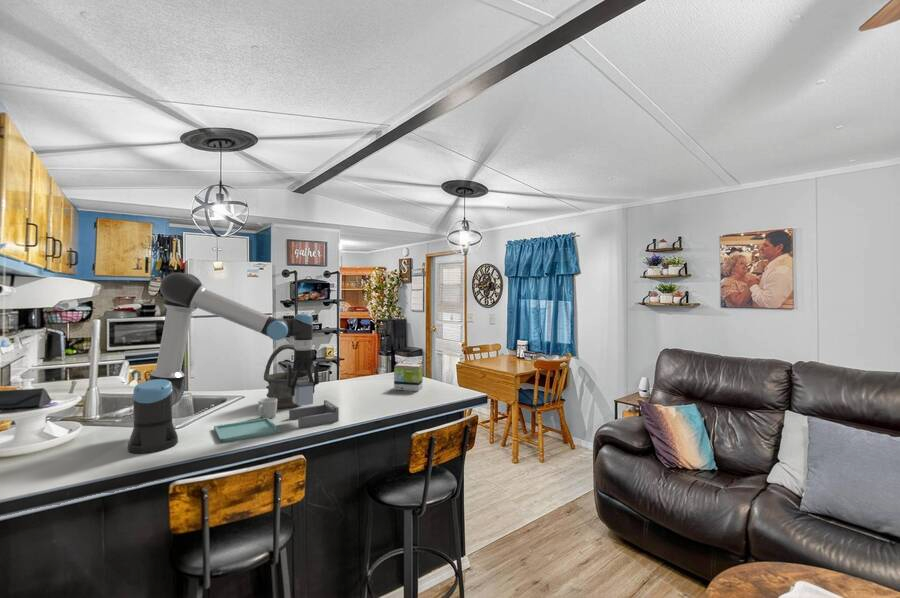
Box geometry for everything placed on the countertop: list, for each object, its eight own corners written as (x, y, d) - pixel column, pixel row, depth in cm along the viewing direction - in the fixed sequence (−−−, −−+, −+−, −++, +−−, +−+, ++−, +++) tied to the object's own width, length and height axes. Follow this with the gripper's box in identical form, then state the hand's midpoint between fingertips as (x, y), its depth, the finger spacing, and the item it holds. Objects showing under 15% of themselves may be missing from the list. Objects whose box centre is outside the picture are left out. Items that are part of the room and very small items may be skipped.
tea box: (393, 390, 247) (393, 365, 246) (398, 386, 256) (398, 362, 256) (418, 391, 244) (419, 365, 244) (422, 387, 254) (423, 363, 254)
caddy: (298, 406, 181) (299, 384, 180) (292, 400, 189) (292, 380, 189) (313, 404, 184) (313, 383, 184) (306, 399, 192) (306, 379, 192)
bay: (299, 428, 178) (299, 413, 178) (289, 418, 191) (289, 405, 191) (338, 421, 188) (338, 407, 188) (326, 412, 201) (326, 400, 200)
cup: (266, 422, 185) (266, 404, 185) (250, 421, 187) (250, 403, 187) (281, 415, 196) (281, 398, 196) (265, 414, 197) (265, 397, 197)
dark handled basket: (273, 398, 227) (273, 342, 227) (317, 398, 228) (317, 342, 228) (256, 409, 205) (256, 347, 205) (305, 409, 206) (305, 347, 206)
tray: (220, 443, 160) (220, 439, 160) (214, 429, 175) (214, 426, 175) (278, 432, 172) (278, 429, 172) (268, 421, 187) (268, 417, 187)
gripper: (282, 351, 178) (282, 406, 178) (327, 348, 188) (326, 400, 189) (278, 349, 184) (277, 402, 184) (322, 347, 195) (321, 397, 195)
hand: (302, 401), depth 186 cm, fingers closed on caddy, 6 cm apart
